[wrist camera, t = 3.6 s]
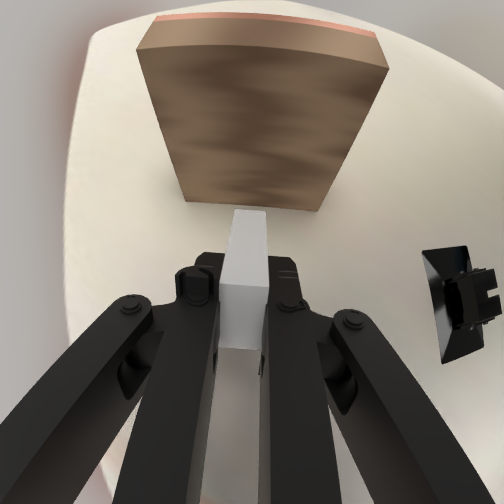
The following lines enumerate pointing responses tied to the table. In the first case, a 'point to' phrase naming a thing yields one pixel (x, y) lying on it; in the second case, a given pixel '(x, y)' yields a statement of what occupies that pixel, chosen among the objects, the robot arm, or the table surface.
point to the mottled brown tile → (259, 103)
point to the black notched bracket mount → (459, 300)
